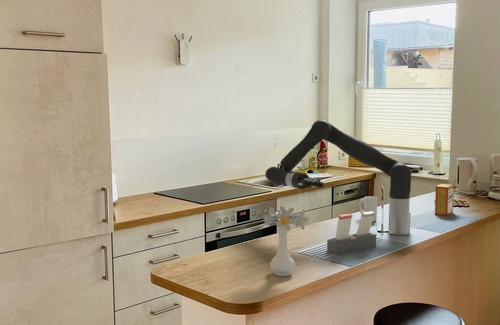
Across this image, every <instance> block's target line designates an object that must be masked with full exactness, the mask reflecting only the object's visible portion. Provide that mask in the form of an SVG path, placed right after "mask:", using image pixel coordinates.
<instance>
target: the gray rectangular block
mask: <svg viewBox="0 0 500 325" xmlns="http://www.w3.org/2000/svg"><path fill="white" fill-rule="evenodd" d="M335 238H336V237H333V238H328V239H326V240H327V242H326V245H327V246H326V248H327V249H326V251H327V252H328V253H332V254H335V255H341V254H345V253H349V252H353V251H359V250H363V249H366V248H367V249H368V248H371V247H376V246H377V234H376V233H373V232H369V234H365V235H360V236H359V235H357V234H356V233H353V234H349V238H346V239H341V240H337V239H335Z"/></svg>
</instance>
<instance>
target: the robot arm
mask: <svg viewBox="0 0 500 325" xmlns="http://www.w3.org/2000/svg"><path fill="white" fill-rule="evenodd" d="M322 141H326V142H329V143H330V144H333V145H334V146H336V147H337V148H338V149H340V150H341V151H342V152H343V153H345V154H346V155H347V156H349V157H351V158H352V159H353V160H355V161H358V162H360V163H362V164H364V165H366V166H369V167H372V168H375V169H377V170H379V171H381V172H382V173H384V174H385V175H387V176H388V177H389V178H390V183H389V186H390V188H389V194H388V195H389V200H388V201H389V204H388V205H389V207H388V234H390V235H394V236H406V235H407V236H408V235H409V234H410V233H411V212H410V200H411V199H410V198H411V196H410V195H411V188H412V171H411V169H410V167H409V166H408V165H407V164H405V163H403V162H400V161H399V160H396V159H393V158H391V157H389V156H387V155H385V154H384V153H383V152H381V151H380V150H378V149H377V148H375V147H374V146H372V145H370V144H369V143H367V142H365V141H363V140H361V139H360V138H358V137H356V136H354V135H351V134H348V133H346V132H345V131H344V132H343V131H342V130H340V129H339V128H337V127H336V126H335V125H333V124H332V123H330V122H328V120H325V119H321V118H320V119H317V120H315V121H314V123H312V125H311V128H310V129H309V131H308V132H307V134H306V135H305V136H304V137H303V138H302V140H300V142H299V143H298V144H297V145H295V146H294V147H292V149H290V150H289V152H287V154H286V155H285V156H284V157H283V158H282V159H281V161H280V166H281V167H282V168H280V167H276V166H270V167H269V168H267V169H266V171H265V173H264V174H265V178H266V179H267V181H269V182H271V183H272V184H273V185H275V186H277V187H280V186H287V187H290V188H293V189H298V190H306V189H307V188H324V186H325V185H324V182H322V180H321V178H320V177H318V178H312V177H309V175H308V174H307V173H305V172H300V171H299V172H298V171H293V169H296V167H297V165H299V163H301V161H302V160H304V159H305V157H306V156H307V155H308V154H309V152H310V151H311V150H313V148H314V147H316V146H317V145H318V144H319V143H321V142H322Z"/></svg>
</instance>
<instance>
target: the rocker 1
mask: <svg viewBox="0 0 500 325" xmlns="http://www.w3.org/2000/svg"><path fill="white" fill-rule="evenodd" d="M352 220H353V214H351V213H350V212H349V213H344V214H339V215H338V218H337V226H336V233H335V237H334V238H335V239H337V240H341V239H346V238H349V235H350V231H351V225H352Z"/></svg>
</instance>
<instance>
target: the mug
mask: <svg viewBox="0 0 500 325" xmlns="http://www.w3.org/2000/svg"><path fill="white" fill-rule="evenodd" d="M362 203H363V209H362ZM358 209H359V212H360V214H361V215H362V213H363V212H369V211H373V212H374V213H375V214H374V217H373V221H372V223H373V222H376V221H377V217H378V216H377V214H378V197H377V196H373V195H372V196H371V195H369V196H367V195H366V196H364V197H363V198H360V201H359V203H358Z"/></svg>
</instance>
